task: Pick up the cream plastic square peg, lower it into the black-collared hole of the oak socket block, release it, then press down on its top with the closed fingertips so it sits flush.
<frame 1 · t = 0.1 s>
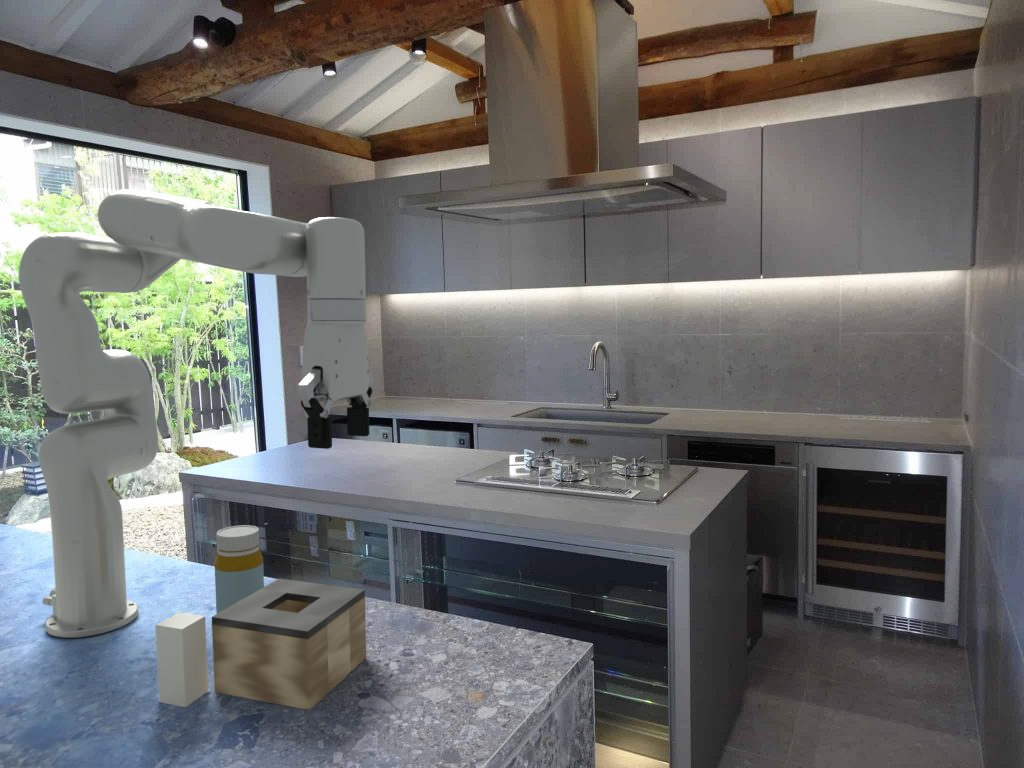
hand: (340, 441, 97), 31 cm above the counter, fingers open, 9 cm apart
bottle: (241, 626, 112), on the counter
peg: (184, 696, 91), on the counter
socket: (294, 674, 97), on the counter
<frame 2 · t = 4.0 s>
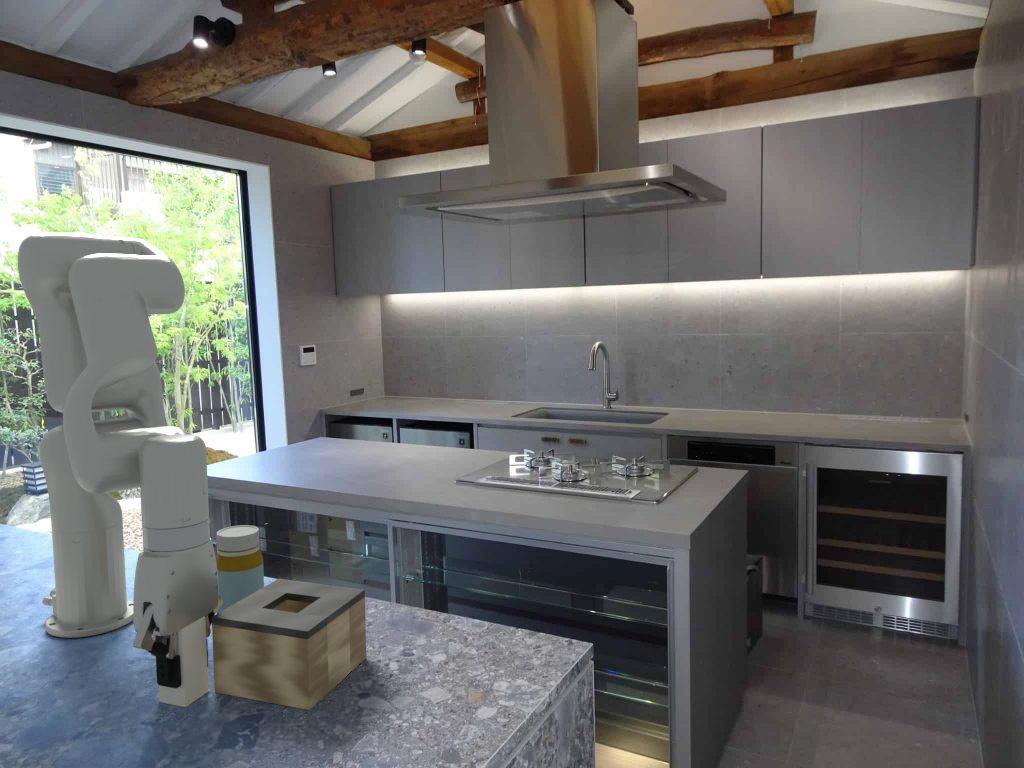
hand: (183, 675, 91), 3 cm above the counter, fingers closed on peg, 4 cm apart
peg: (184, 696, 91), on the counter, touching gripper
everything else where it was.
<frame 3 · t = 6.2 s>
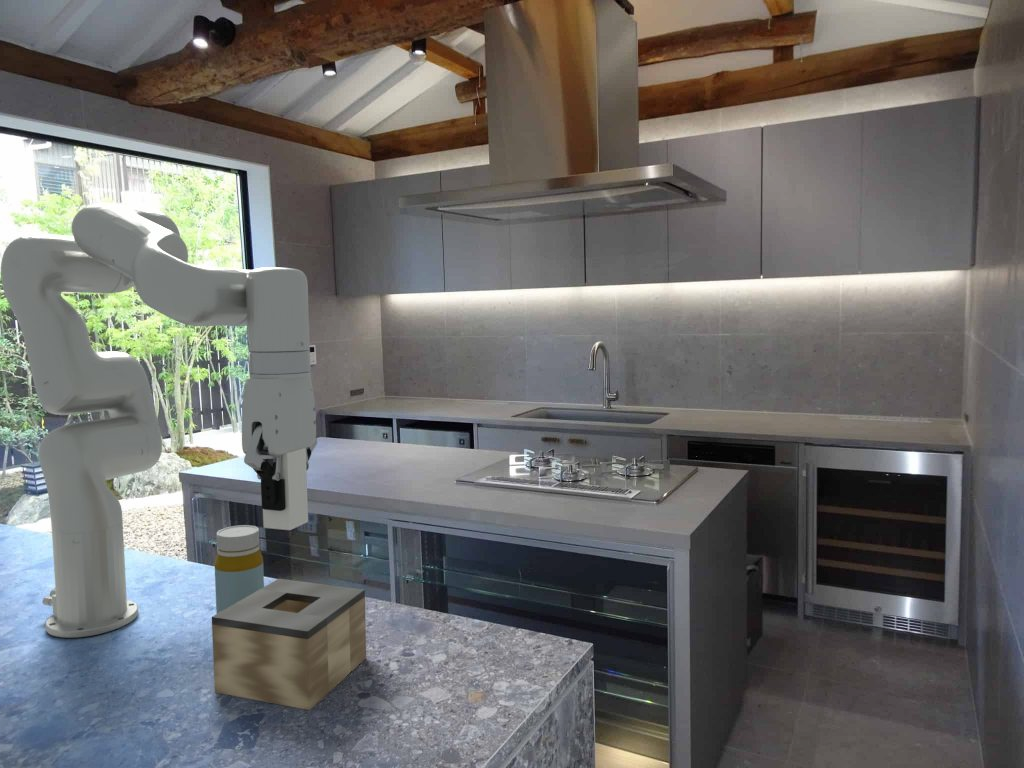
hand: (285, 503, 94), 24 cm above the counter, fingers closed on peg, 4 cm apart
peg: (286, 524, 95), point 21 cm above the counter, touching gripper
everything else where it was.
when the fingers open (11 cm above the counter, at t = 8.8 s): peg drops 8 cm, resting in socket.
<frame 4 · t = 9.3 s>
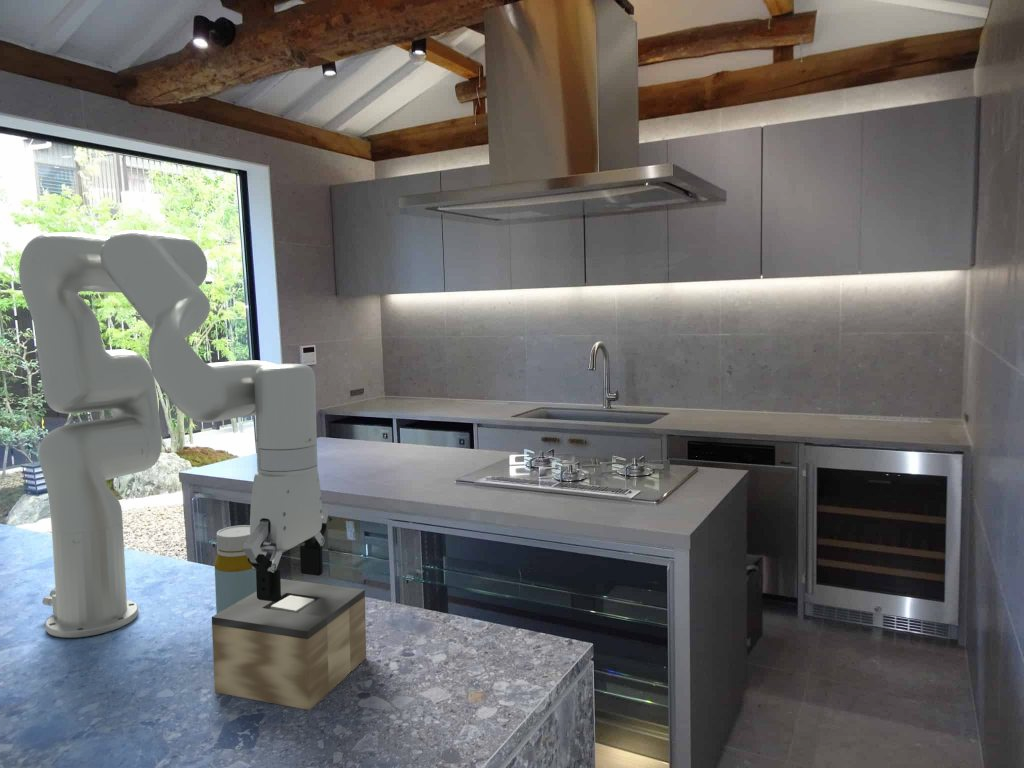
hand: (291, 586, 96), 12 cm above the counter, fingers open, 9 cm apart
peg: (294, 674, 97), resting in socket
everything else where it was.
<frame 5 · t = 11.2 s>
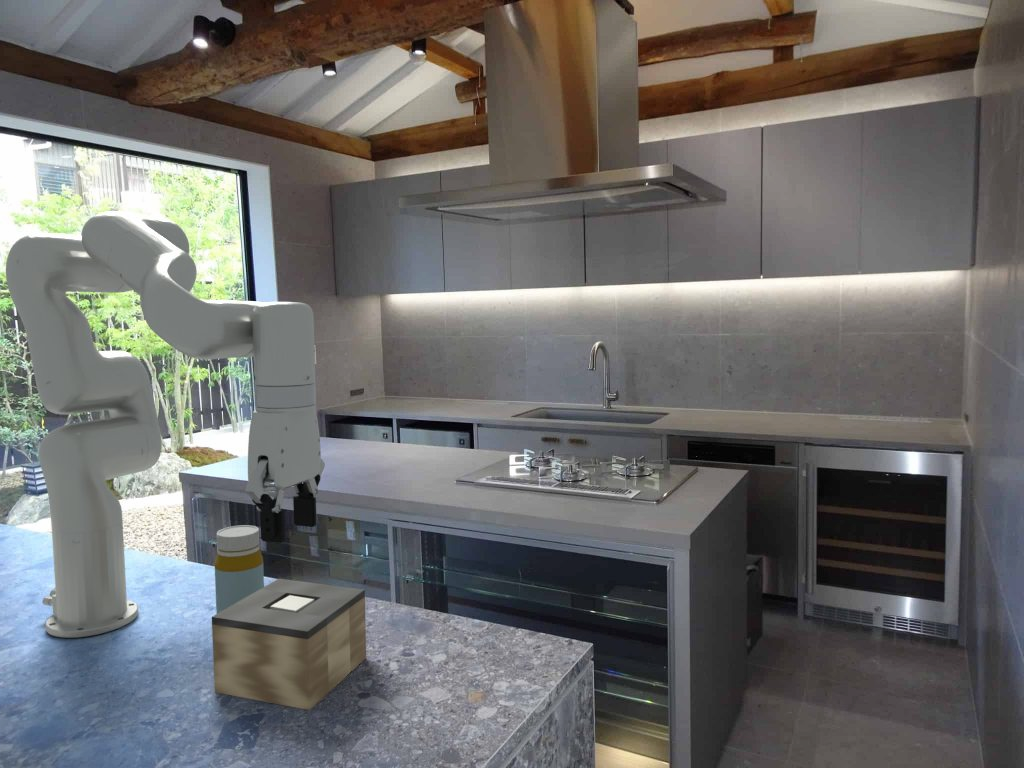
hand: (289, 532, 95), 20 cm above the counter, fingers open, 6 cm apart
nothing on the counter moved.
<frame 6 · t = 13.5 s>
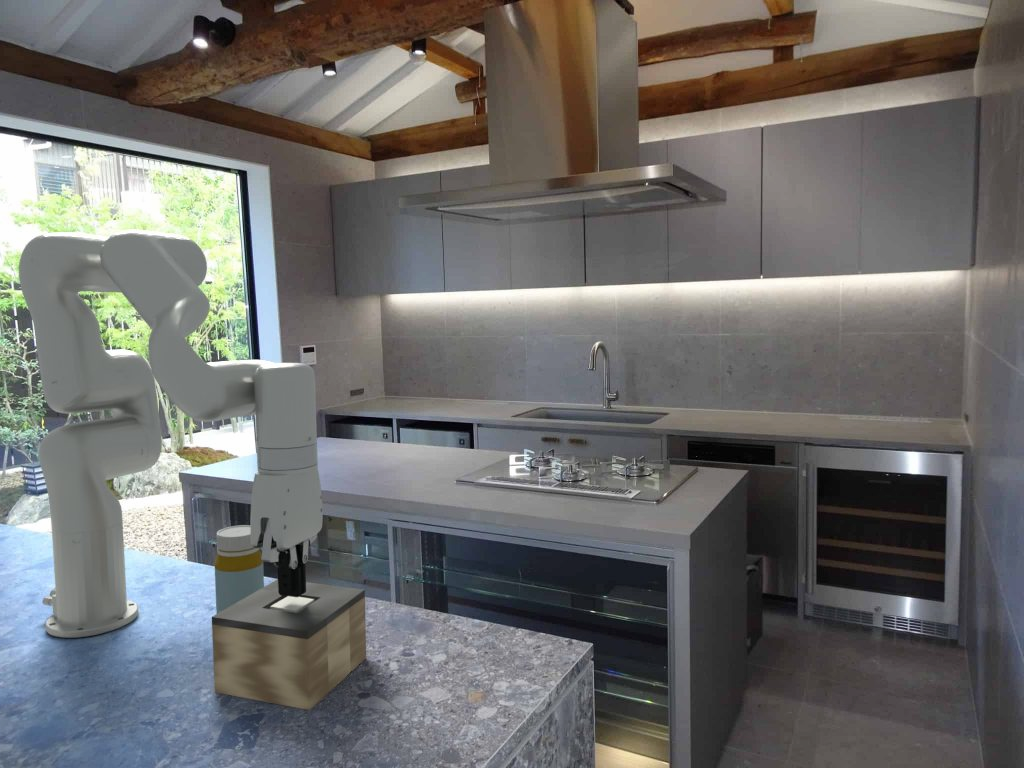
hand: (292, 593, 96), 11 cm above the counter, fingers closed
nothing on the counter moved.
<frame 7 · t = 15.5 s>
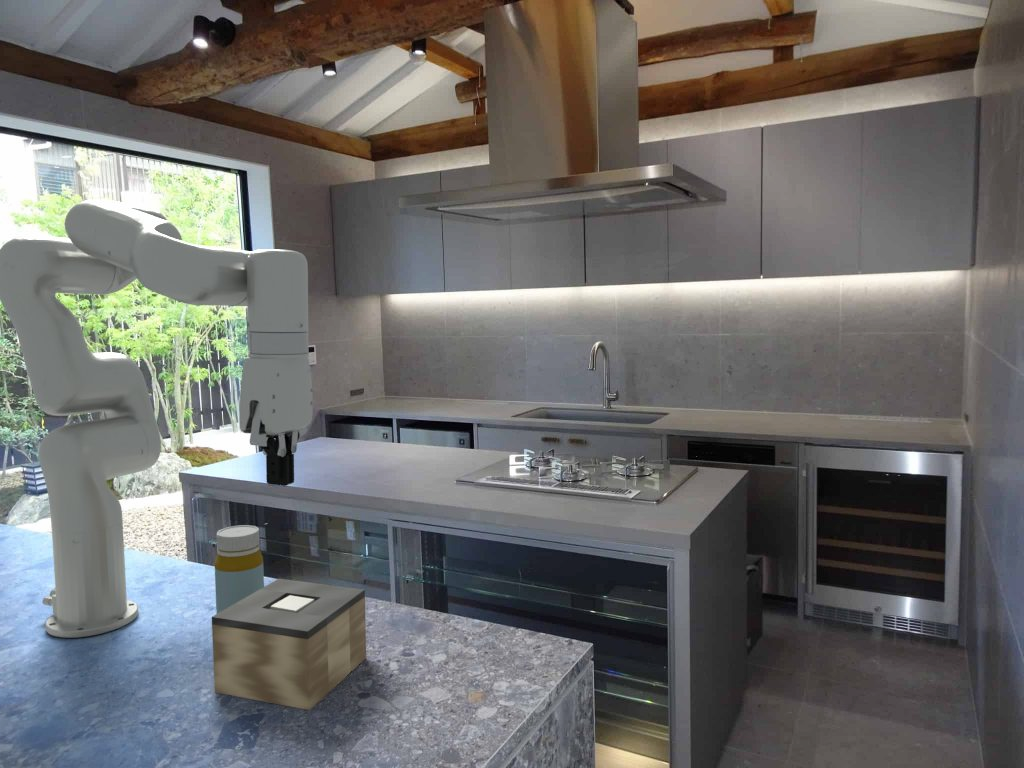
hand: (280, 483, 96), 26 cm above the counter, fingers closed
nothing on the counter moved.
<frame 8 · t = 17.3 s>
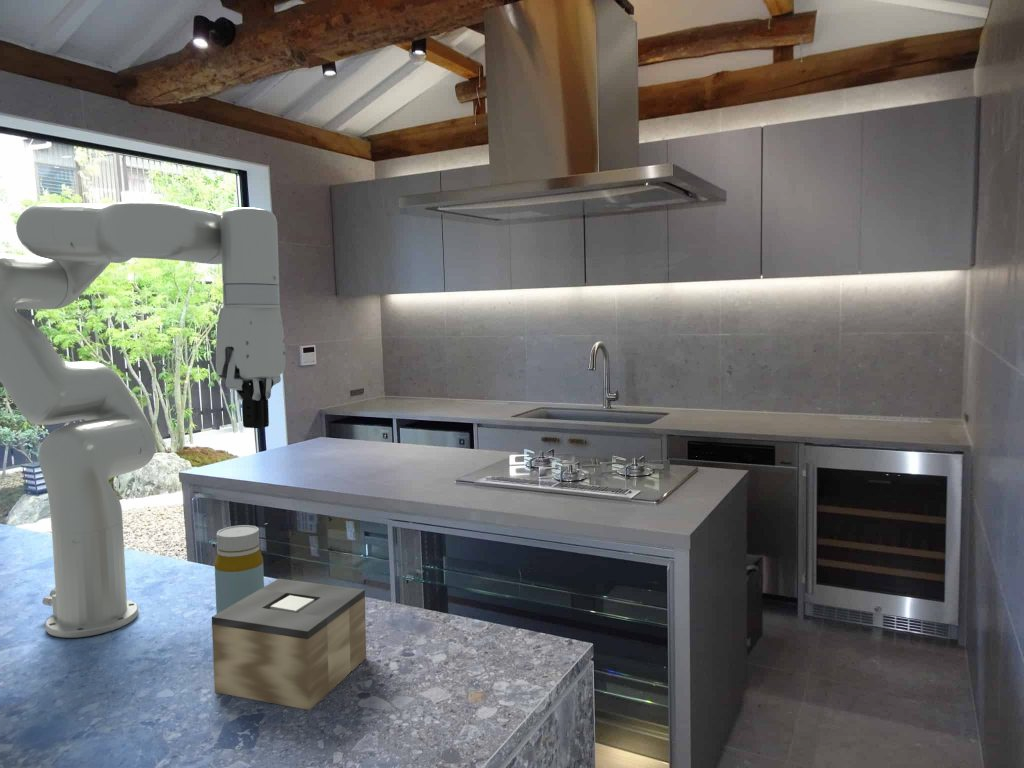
hand: (256, 426, 103), 32 cm above the counter, fingers closed
nothing on the counter moved.
at the end: peg 0.1 cm off-centre on the socket, point 0.0 cm above the socket's base; peg tilted 0°; the gripper is holding nothing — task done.
